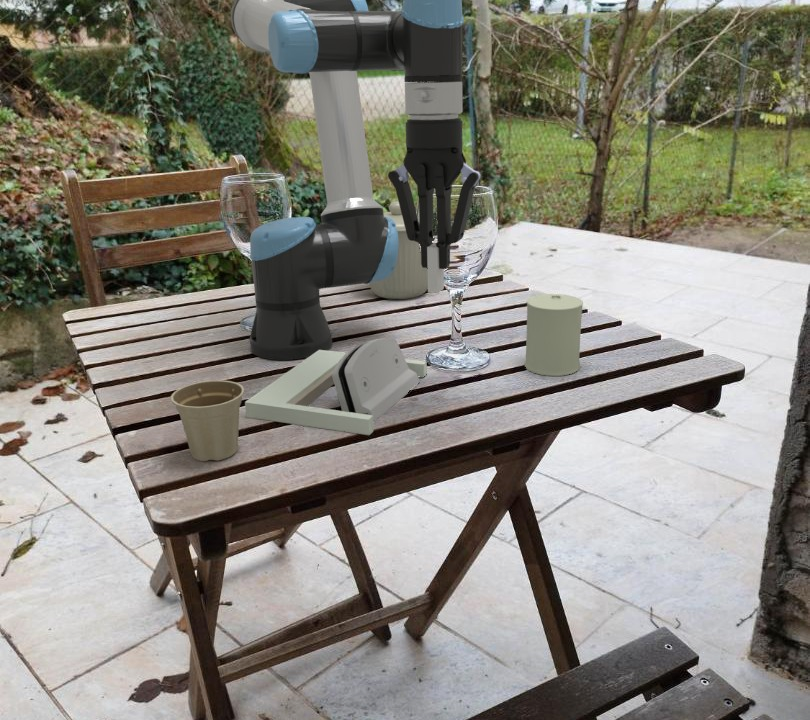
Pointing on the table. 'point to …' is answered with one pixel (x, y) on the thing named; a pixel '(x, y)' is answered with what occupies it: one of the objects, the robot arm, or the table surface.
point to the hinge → (373, 377)
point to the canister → (403, 265)
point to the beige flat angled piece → (312, 396)
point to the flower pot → (210, 417)
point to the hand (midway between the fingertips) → (435, 290)
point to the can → (553, 334)
